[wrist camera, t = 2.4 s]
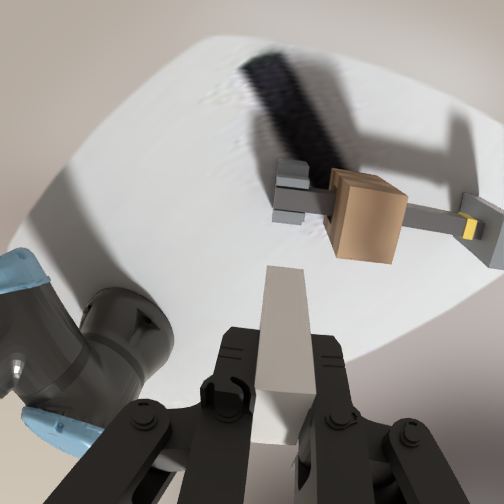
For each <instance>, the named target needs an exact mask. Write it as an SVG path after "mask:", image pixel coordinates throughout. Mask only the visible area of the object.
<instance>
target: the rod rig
mask: <svg viewBox="0 0 504 504" xmlns="http://www.w3.org/2000/svg"><path fill="white" fill-rule="evenodd" d="M308 173H309V166H308V164H307V163H306V161H298V160H290V159H281V158H278V166H277V176H276V185H275V194H274V204H273V214H272V222H277V223H286V224H295V225H301V224H302V222H304V218H305V212H306V213H314V214H322V215H330V216H333V211H334V205H335V199H336V193H337V191H333V190H325V189H318V188H311V187H309V183H310V180H309V178H308ZM402 226H405V227H411V228H417V229H423V230H429V231H435V232H440V233H446V234H451V235H453V237H454V238H455V239H457V240H458V241H459V242H460V243H461V244H462V245H464V246H465V247H466V248H467V249H468V250H469V251H470V252H472V253H473V254H474V255H475V256H476V257H477V258H478V259H479V260H480V261H482V262H483V263H484V264H485V265H486V266H487V267H488V268H493V269H500V270H504V210H503V209H501V208H499V207H497V206H495V205H494V204H492V203H490V202H488V201H486V200H485V199H483V198H481V197H478V196H474V195H471V194H467V193H464V195H463V200H462V204H461V208H460V212H458V213H454V212H449V211H445V210H440V209H435V208H431V207H426V206H421V205H416V204H410V203H407V205H406V210H405V214H404V218H403V222H402Z"/></svg>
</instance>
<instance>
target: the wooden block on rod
mask: <svg viewBox="0 0 504 504" xmlns="http://www.w3.org/2000/svg"><path fill="white" fill-rule="evenodd" d="M329 190H333V191H337V193H336V199H335V205H334V211H333V216H330V215H324V221H323V224H324V226H325V229H326V231H327V234H328V237H329V239H330V242H331V244H332V247H333V250H334V252H335V255H336V258H341V259H350V260H359V261H367V262H376V263H385V264H392V260H393V257H394V253H395V250H396V246H397V242H398V238H399V234H400V230H401V226H402V222H403V218H404V214H405V210H406V205H407V201H408V196H407V195H406V194H404V193H403V192H401V191H400V190H398V189H397V188H395V187H394V186H392V185H391V184H389V183H388V182H386V181H385V180H383V179H382V178H380V177H378V176H377V175H371V174H366V173H360V172H354V171H348V170H342V169H336V168H332V169H331V176H330V183H329Z"/></svg>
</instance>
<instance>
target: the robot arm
mask: <svg viewBox="0 0 504 504" xmlns="http://www.w3.org/2000/svg"><path fill="white" fill-rule="evenodd" d="M50 281H51V279H50V277H49V276H47V275H46V274H45V272H44V270H43V269H42V267H41V265H40V264H39V262H38V260H37V259H36V257H35V255H34V254H33V253H32V252H31V251H30V250H29V249H27V248H22V247H20V248H16V249H14V250H12V251H9V252H7V253H5V254H3V255H1V256H0V400H1V399H2V398H4V396H6V395H7V394H8V393H9V392H10V391H11V390H13V391H14V392H15V393H16V394H17V395H18V396H19V397H20V398H21V400H22V401H23V402H24V403H25V405H26V406H25V407H23V408H22V413H21V418H22V421H23V422H24V423H25V425H26V426H27V427H28V428H29V429H30V430H31V431H32V432H33V433H35V434H36V435H37V436H38V437H40V438H41V439H43V440H44V441H46V442H47V443H49V444H51V445H52V446H54V447H56V448H57V449H60V450H61V451H63V452H65V453H68V454H70V455H72V456H75V457H77V458H80V460H79V461H78V462H77V463H76V465H75V466H74V467H73V468H72V469H71V471H70V472H69V473H68V474H67V475H66V477H65V478H64V479H63V480H62V481H61V483H60V484H59V485H58V486H57V488H56V489H55V490H54V491H53V492H52V493H51V495H50V496H49V497H48V498H47V499H46V500H45V502H44V503H43V504H157V503H158V501H159V500H160V498H161V497H162V495H163V494H164V492H165V490H166V489H167V487H168V485H169V484H170V482H171V481H172V479H173V477H174V476H175V474H176V472H177V471H185V474H184V477H183V481H182V485H181V490H180V494H179V498H178V502H177V504H243V502H244V493H245V484H246V476H247V468H248V459H249V450H250V442H257V443H268V444H283V445H296V443H297V441H298V439H299V451H298V453H297V455H296V458H295V460H294V462H293V464H292V467H291V470H292V471H293V470H295V490H294V495H295V496H294V504H470V503H469V501H468V499H467V497H466V495H465V494H464V492H463V490H462V488H461V486H460V484H459V483H458V480H457V478H456V477H455V475H454V473H453V471H452V469H451V468H450V466H449V464H448V462H447V460H446V459H445V457H444V455H443V453H442V452H441V450H440V448H439V446H438V445H437V443H436V441H435V439H434V438H433V436H432V434H431V433H430V431H429V429H428V428H427V427H426V426H425V425H424V424H423V423H422V422H420V421H418V420H416V419H412V418H404V419H400V420H398V421H397V422H395V423H394V424H393V425H392V426H388V425H384V424H380V423H376V422H373V421H370V420H367V419H365V418H364V417H362V416H361V414H360V412H359V411H358V410H357V409H356V408H355V407H354V406H353V404H352V401H351V396H350V390H349V384H348V379H347V374H346V369H345V363H344V359H343V353H342V348H341V345H340V344H339V343H338V341H337V340H336V339H335V337H334V336H330V335H317V334H311V332H310V322H309V313H308V304H307V296H306V288H305V279H304V272H303V269H294V268H285V267H276V266H267V271H266V280H265V288H264V296H263V304H262V312H261V321H260V330H256V329H247V328H239V327H231V328H230V329H229V330H228V331H227V332H226V333H225V334H224V335H223V338H222V342H221V345H220V349H219V353H218V358H217V361H216V365H215V369H214V373H213V375H211V376H210V377H209V378H207V379H206V380H204V382H203V384H202V385H201V387H200V397H201V402H199V403H198V404H196V405H194V406H191V407H186V408H177V409H166V408H165V406H163V405H162V404H161V403H159V402H158V401H155V400H151V399H138V397H139V394H140V392H141V389H142V387H143V385H144V383H145V382H146V381H147V380H148V379H149V378H150V377H151V376H152V375H153V374H154V373H155V372H157V371H158V370H159V369H160V368H161V367H162V366H163V365H164V364H165V363H166V361H167V360H168V358H169V356H170V354H171V351H172V349H173V345H174V335H173V331H172V328H171V326H170V324H169V322H168V320H167V318H166V317H165V316H164V314H163V313H162V312H161V311H160V310H159V309H158V308H157V307H156V306H155V305H154V304H153V303H152V302H150V301H149V300H148V299H146V298H145V297H143V296H141V295H139V294H137V293H135V292H133V291H130V290H127V289H122V288H108V289H104V290H101V291H100V292H98V293H97V294H96V295H95V296H94V297H93V298H92V299H91V300H90V301H89V302H88V304H87V305H86V307H85V309H84V312H83V315H82V319H81V322H80V326H79V328H78V327H77V325H76V324H75V322H74V321H73V319H72V318H71V316H70V315H69V313H68V312H67V310H66V308H65V307H64V305H63V304H62V302H61V300H60V299H59V297H58V295H57V294H56V292H55V290H54V288H53V287H52V285H51V283H50Z"/></svg>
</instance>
